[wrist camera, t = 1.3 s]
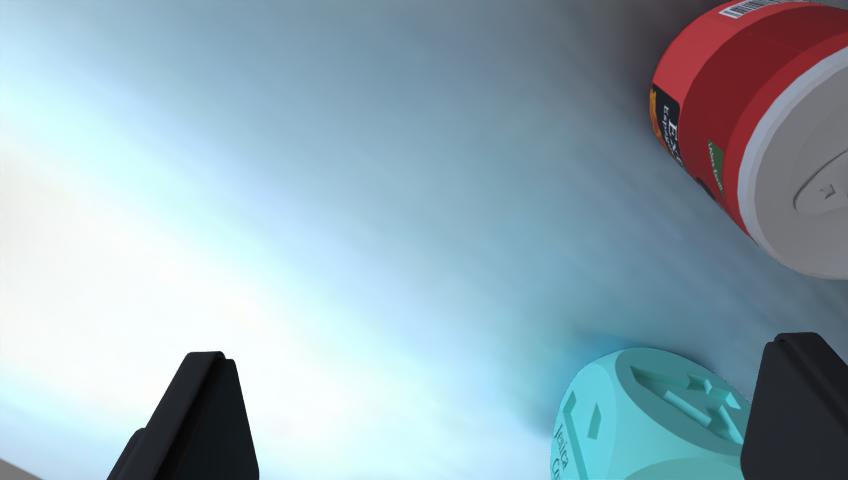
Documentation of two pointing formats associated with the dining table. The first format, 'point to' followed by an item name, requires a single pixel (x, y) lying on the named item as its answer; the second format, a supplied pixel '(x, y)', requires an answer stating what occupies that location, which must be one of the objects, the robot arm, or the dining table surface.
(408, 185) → the dining table surface
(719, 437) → the decorative dice
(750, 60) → the canned food
